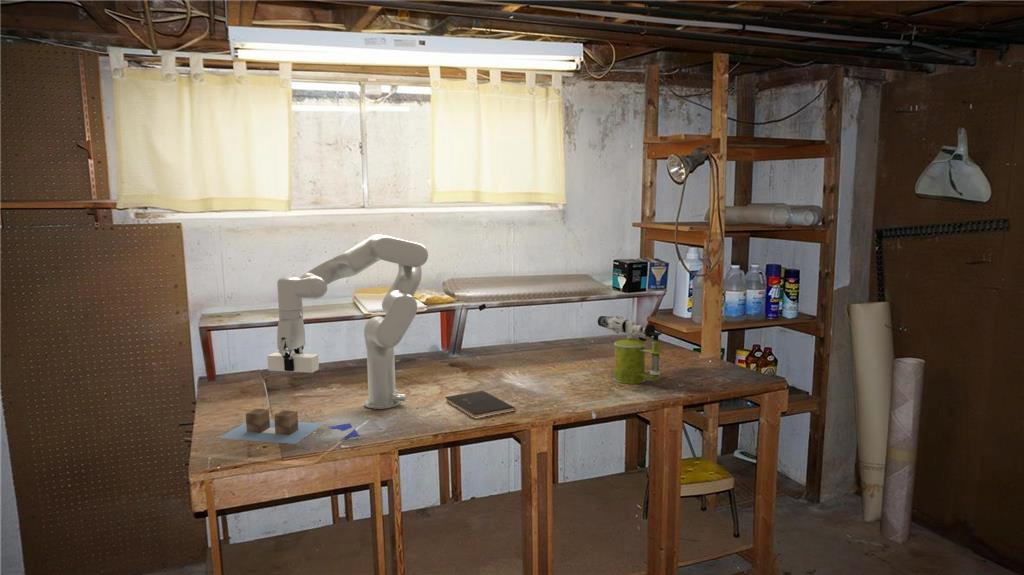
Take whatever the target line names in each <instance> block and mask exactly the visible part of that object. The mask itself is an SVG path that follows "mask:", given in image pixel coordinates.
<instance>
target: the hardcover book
mask: <svg viewBox="0 0 1024 575" xmlns="http://www.w3.org/2000/svg"><path fill="white" fill-rule="evenodd" d="M445 399H446V402H447V401H448V402H450V403H451V404H453V405H455V406H456V407H458V408H459V409H461V410H463V411H464V412H466V413H468V414H469V415H471V416H473V417H474V418H475V417H479V416H483V415H488V414H494V413H499V412H505V411H511V410H515V411H516V407H515V406H513V405H511V404H509V403H508V402H505V401H504V400H502V399H500V398H498V397H496V396H494V395H492V394H490V393H489V392H488V391H485V390H478V391H472V392H467V393H461V394H454V395H450V396H449V395H448V396H445ZM448 402H447V403H448ZM450 403H449V404H450ZM451 404H450V405H451ZM453 405H452V406H453ZM456 407H455V408H456ZM458 408H457V409H458ZM459 409H458V410H459ZM461 410H460V411H461ZM464 412H463V413H464ZM466 413H465V414H466ZM469 415H468V416H469ZM474 418H473V419H474Z"/></svg>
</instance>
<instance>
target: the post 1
mask: <svg viewBox="0 0 1024 575" xmlns="http://www.w3.org/2000/svg"><path fill="white" fill-rule="evenodd" d="M270 420H271V419H270V409H267V408H253V409H252V410H249V411H248V412H246V413H245V423H246V427H247V432H255V433H262V432H263V431H265V430H267V429H268V428H270Z"/></svg>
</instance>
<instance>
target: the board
mask: <svg viewBox="0 0 1024 575" xmlns="http://www.w3.org/2000/svg"><path fill="white" fill-rule="evenodd" d="M323 425H325V423H318V422H317V423H316V422H303V421H301V422H300V421H298V430H297V431H295V432H294V433H292V434H291V435H282V434H275V419H274V420H272V419H270V428H268V429H267V430H265V431H263V432H262V433H255V432H247V427H246V422H244V423H242V424H241V425H240V426H237V427H235V428H233V429H231V430H230V431H228V432H227V433H225V434H223V435H221V436H219V437H218V439H224V440H236V441H237V440H239V441H251V442H264V443H276V444H277V443H278V444H289V445H295V444H297V443H298V442H301V440H303V439H304V438H306V437H307V436H309V435H310V434H312V433H313V432H315V431H316V430H317V429H319V428H321V427H322V426H323Z"/></svg>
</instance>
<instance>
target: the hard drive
mask: <svg viewBox="0 0 1024 575" xmlns="http://www.w3.org/2000/svg"><path fill="white" fill-rule="evenodd" d="M352 428H353V425H352V424H351V423H344V424H337V425H336V424H335V425H331V426H328V429H330V430H337V431H338V430H340V432H344V431H347V430H349V429H352ZM357 438H358V439H361V435H360V434H359V433H358V431H357V429H356V428H354V429H353V430H352V431H351V432H350V433H348V434H346V435H345V436H344V437H342V438H341V439H340V440H339V441H340V442H345V440H346V441H351V440H357Z"/></svg>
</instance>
